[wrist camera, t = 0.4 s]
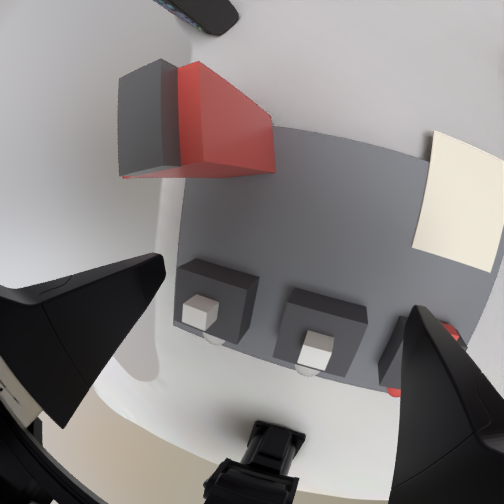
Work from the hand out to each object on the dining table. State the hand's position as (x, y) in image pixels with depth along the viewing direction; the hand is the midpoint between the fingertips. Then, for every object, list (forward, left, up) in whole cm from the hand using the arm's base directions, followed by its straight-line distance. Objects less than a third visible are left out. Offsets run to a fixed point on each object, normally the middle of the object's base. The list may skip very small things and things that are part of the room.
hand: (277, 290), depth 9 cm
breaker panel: (-1, -2, -14) cm, 14 cm away
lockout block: (+5, +7, -12) cm, 15 cm away
